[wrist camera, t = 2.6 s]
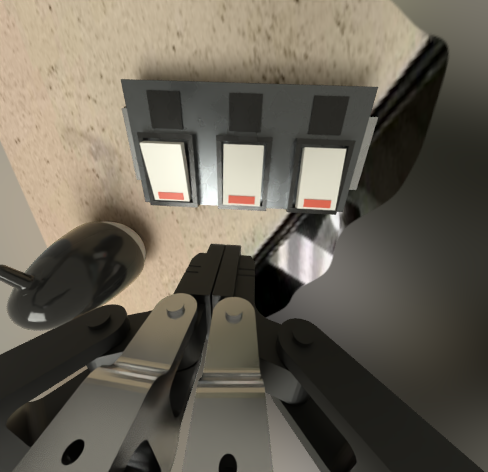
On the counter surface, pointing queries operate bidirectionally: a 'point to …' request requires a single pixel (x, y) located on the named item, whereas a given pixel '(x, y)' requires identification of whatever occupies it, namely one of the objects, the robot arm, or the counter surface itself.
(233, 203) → the middle rocker
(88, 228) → the pump dispenser
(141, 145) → the rocker
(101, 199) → the counter surface
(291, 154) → the rocker switch box
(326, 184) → the rocker
